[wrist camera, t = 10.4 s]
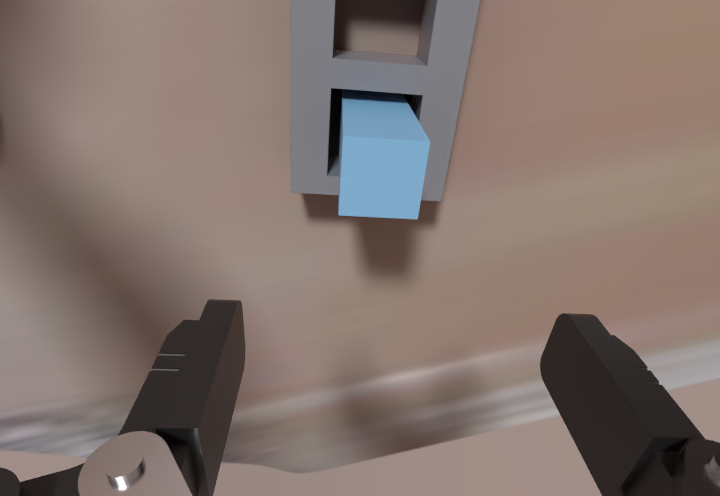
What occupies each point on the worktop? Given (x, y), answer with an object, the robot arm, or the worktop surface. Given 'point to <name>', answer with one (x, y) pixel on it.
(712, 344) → the worktop surface
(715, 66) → the worktop surface
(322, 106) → the panel
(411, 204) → the plug
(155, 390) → the robot arm
